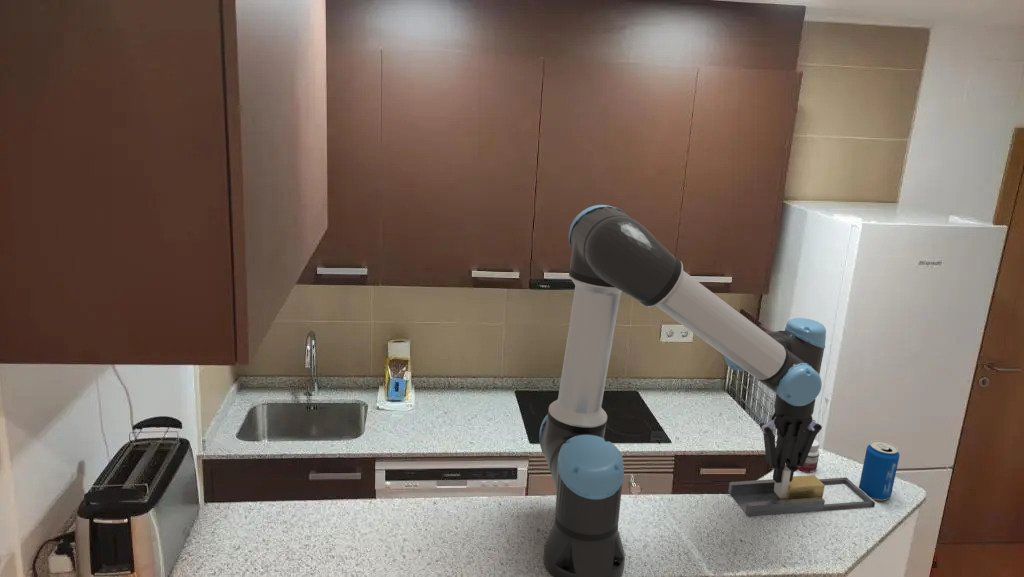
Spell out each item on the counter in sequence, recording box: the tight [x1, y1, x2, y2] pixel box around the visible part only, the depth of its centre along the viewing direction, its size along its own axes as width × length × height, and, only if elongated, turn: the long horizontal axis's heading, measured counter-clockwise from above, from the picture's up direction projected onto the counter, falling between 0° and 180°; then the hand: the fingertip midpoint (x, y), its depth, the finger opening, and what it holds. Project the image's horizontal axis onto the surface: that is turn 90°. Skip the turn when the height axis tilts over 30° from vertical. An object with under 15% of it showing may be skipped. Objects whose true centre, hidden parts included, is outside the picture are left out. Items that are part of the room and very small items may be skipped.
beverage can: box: [858, 439, 900, 502], centre depth 157 cm, size 6×6×12 cm
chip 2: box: [796, 474, 826, 498], centre depth 153 cm, size 4×4×4 cm
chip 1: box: [777, 475, 807, 500], centre depth 152 cm, size 4×4×4 cm
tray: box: [818, 476, 876, 512], centre depth 155 cm, size 12×10×2 cm
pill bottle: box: [797, 438, 820, 474], centre depth 165 cm, size 5×5×8 cm
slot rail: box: [727, 478, 826, 518], centre depth 152 cm, size 17×9×4 cm, turn 100°
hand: (780, 494), depth 152 cm, fingers closed
